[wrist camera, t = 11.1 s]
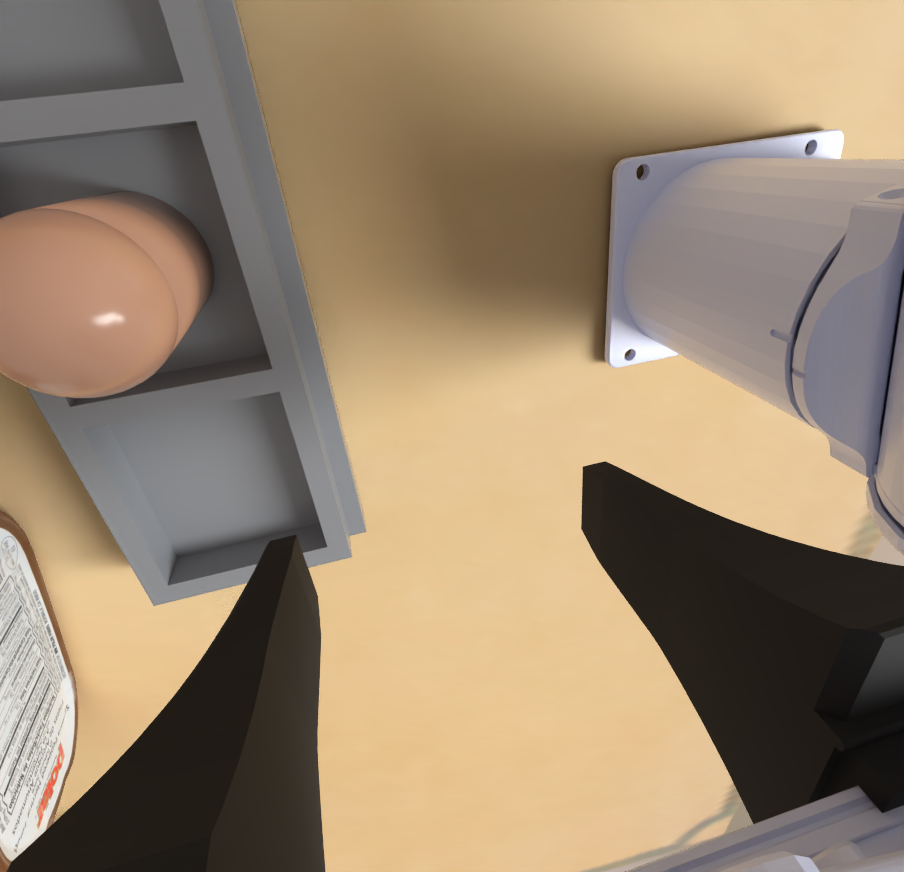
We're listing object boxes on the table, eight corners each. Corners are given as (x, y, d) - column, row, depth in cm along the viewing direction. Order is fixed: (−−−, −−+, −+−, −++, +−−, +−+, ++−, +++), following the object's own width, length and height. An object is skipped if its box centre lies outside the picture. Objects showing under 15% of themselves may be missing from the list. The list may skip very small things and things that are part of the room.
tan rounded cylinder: (187, 182, 15) (101, 204, 9) (231, 317, 17) (186, 408, 11) (36, 201, 14) (-163, 238, 8) (101, 338, 16) (-22, 447, 10)
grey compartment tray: (150, -340, 11) (107, -472, 9) (363, 515, 23) (369, 556, 21) (-343, -348, 10) (-550, -506, 7) (155, 564, 22) (136, 614, 20)
